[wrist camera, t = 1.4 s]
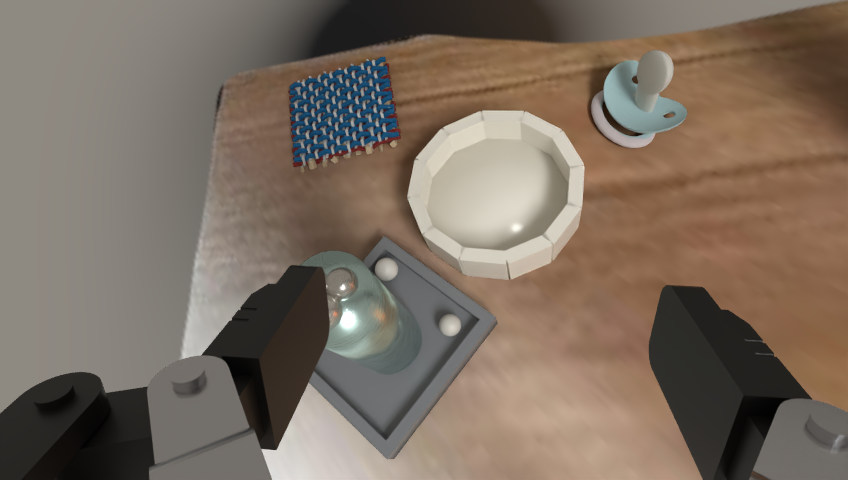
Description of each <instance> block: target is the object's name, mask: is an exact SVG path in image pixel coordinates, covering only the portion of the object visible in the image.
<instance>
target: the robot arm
mask: <svg viewBox="0 0 848 480" xmlns="http://www.w3.org/2000/svg"><path fill="white" fill-rule="evenodd" d="M329 329H330V318H329V309H328V299H327V290H326V281H325V273H324V270H323V268H322V267H316V266H297V265H291V266H290V267H289V268H288V269H287V270H286V272H285V273H284V274H283V276H282V277H281V278H280V280H279V281H278V282H277V284H267V285H266V286H264V287H262V288H261V289H259V290H258V291H256V292H254V293H253V294H251V295H250V297H249V298H248V299H247V300H246V302H245V303H244V304H243V305H242V306H241V310H238V311H237V312H236V314H235V315H234V316H233V317H232V321H229V322H228V323H227V325H226V326H225V327H224V328H223V330H222V331H221V332H220V333H219V334H218V336H217V337H216V338H215V339H214V341H213V342H212V343H211V344H210V345H209V347H208V348H207V349H206V350H205V352H204V353H203V354H202V355H201V356H194V357H189V358H185V359H182V360H180V361H177V362H175V363H173V364H171V365H169V366H167V367H165V368H164V369H163V370H161V371H160V372H159V373H158V374H157V375H156V376H155V377H154V378H153V379H152V380H151V382H150V384H149V386H148V387H143V388H136V389H130V390H123V391H117V392H110V393H105V390H104V387H103V384H102V382H101V380H100V378H99V377H98V376H96V375H94V374H91V373H85V372H77V373H69V374H64V375H60V376H57V377H54V378H51V379H49V380H46V381H44V382H42V383H39V384H38V385H36V386H34V387H32V388H30V389H29V390H27V391H26V392H25V393H23V394H22V395H21V396H19V397H18V398H17V399H16V400H15V401H14V402H13V403H12V404H11V405H9V406H8V407H7V408H6V409H5V410H4V411H3V412H2V413H1V414H0V480H272V478H271V475H270V473H269V470H268V467H267V464H266V461H265V459H264V456H263V453H262V450H261V449H270V450H277V448H278V446H279V443H280V441H281V439H282V437H283V435H284V433H285V431H286V429H287V427H288V424H289V422H290V420H291V418H292V416H293V414H294V412H295V410H296V408H297V405H298V403H299V401H300V399H301V397H302V395H303V393H304V391H305V389H306V386H307V384H308V382H309V380H310V378H311V376H312V374H313V372H314V370H315V367H316V365H317V363H318V361H319V359H320V357H321V355H322V353H323V351H324V348H325V346H326V344H327V341H328V337H329ZM649 360H650V364H651V368H652V370H653V372H654V374H655V377H656V379H657V381H658V383H659V385H660V387H661V390H662V392H663V394H664V396H665V398H666V400H667V403H668V405H669V407H670V409H671V411H672V413H673V416H674V418H675V420H676V422H677V424H678V426H679V429H680V431H681V433H682V435H683V437H684V439H685V442H686V444H687V446H688V448H689V450H690V452H691V455H692V457H693V459H694V461H695V463H696V465H697V468H698V470H699V472H700V474H701V476H702V478H703V480H848V412H846V411H844V410H842V409H839V408H837V407H835V406H832V405H829V404H827V403H823V402H820V401H816V400H812V398H811V397H810V396H809V395H808V394H807V393H806V391H805V390H804V389H803V388H802V387H801V385H800V384H799V383H798V382H797V381H796V379H795V378H794V377H793V376H792V375H791V373H790V372H789V371H788V370H787V369H786V367H785V366H784V365H783V364H782V363H781V361H780V360H779V359H778V358H777V357H774V353H773V352H772V351H771V349H770V348H769V347H768V346H767V345H766V343H763V340H762V339H761V337H760V336H759V335H758V334H757V333H756V331H755V330H754V329H753V328H752V327H751V325H750V324H748V323H747V322H745V321H744V320H742V319H741V318H739V317H738V316H736V315H735V314H733V313H732V312H730V311H729V310H721V309H720V307H719V306H718V305H717V304H716V302H715V301H714V300H713V299H712V297H711V296H710V295H709V293H708V292H707V291H706V290H705V289H704V288H703V287H695V286H675V285H666V286H665V287H664V288H663V290H662V292H661V295H660V299H659V303H658V307H657V311H656V316H655V320H654V324H653V328H652V332H651V337H650V341H649Z"/></svg>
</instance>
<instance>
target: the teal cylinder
mask: <svg viewBox="0 0 848 480" xmlns="http://www.w3.org/2000/svg"><path fill="white" fill-rule="evenodd" d="M300 266H316V267H322V268H323V270H324V273H325V281H326V290H327V299H328V309H329V318H330V329H329V337H328V341H327V344H326V346H325V348H326V349H328V350H330V351H332V352H335V353H337V354H339V355H341V356H343V357H345V358H347V359H349V360H351V361H354V362H356V363H358V364H360V365H362V366H364V367H366V368H368V369H370V370H373V371H375V372H377V373H381V374H394V373H397V372H400V371H402V370H404V369H406V368H407V367H408V366H409V365H411V364H412V362H413V361H414V360H415V359H416V357H417V355H418V353H419V351H420V348H421V342H422V335H421V330H420V327H419V324H418V322H417V321H416V319H415V318H414V317H413V316H412V315H411V314H410V313H409V312H408V310H407V309H406V308H405V307H404V306H403V305H402V304H401V303H400V302H399V301H398V300H397V299H396V298H395V297H394V296H393V294H392V293H391V292H390V291H389V290H388V289H387V288H386V287H385V286H384V285H383V284H382V283H381V282H380V281H379V280H378V278H377V277H376V276H375V275H374V274H373V273H372V272H371V271H370V270H369V269H368V268H367V267H366V266H365V265H364V264H363V262H362V261H360V260H359V259H358V258H357V257H355V256H354V255H352V254H349V253H347V252H343V251H326V252H322V253H319V254H316V255H314V256H312V257H310V258H309V259H307V260H306V261H304V262H303V263H302V264H301V265H300Z"/></svg>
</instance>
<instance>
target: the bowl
mask: <svg viewBox="0 0 848 480" xmlns="http://www.w3.org/2000/svg"><path fill="white" fill-rule="evenodd" d="M583 183H584V163H583V162H582V160H581V158H580V157H579V155H578V154H577V152H576V150H575V149H574V147H573V146H572V144H571V142H570V141H569V139H568V138H567V136H566V134H565V133H564V131H562V129H560V128H558V127H556V126H554V125H552V124H550V123H548V122H546V121H544V120H542V119H540V118H538V117H536V116H534V115H532V114H530V113H528V112H525V113H524V111H482V113H481V111H479V112H477V113H474V114H472V115H470V116H468V117H465V118H463V119H461V120H458V121H456V122H454V123H452V124H449V125H447V126H445V127H443V129H440V130H439V132H438V133H437V134H436V135H435V136H434V137H433V139H432V140H431V141H430V142H429V143H428V144H427V145H426V147H425V148H424V149H423V150H422V151H421V152H420V154H419V155H418V156H417V157H416V160H415V161H414V166H413V171H412V175H411V180H410V185H409V190H408V195H407V197H408V198H407V199H408V201H409V204H410V206H411V209H412V211H413V213H414V216H415V218H416V221H417V223H418V226H419V228H420V231H421V233H422V235H423V237H424V239H425V241H426V243H427V245H428V246H429V248H430V250H431V251H432V253H434V254H435V255H437V256H438V257H439V258H441V259H442V260H444V261H445V262H446V263H448V264H449V265H451V266H452V267H453V268H455V269H456V270H458V271H459V272H461V273H462V274H463V275H464V274H465V275H466V276H474V277H485V278H495V279H505V280H509V277H510V279H513V278H516V277H518V276H520V275H523V274H525V273H527V272H530V271H532V270H535V269H537V268H539V267H542V266H544V265H547V264H549V263H551V260H552V261H553V260H554V259H555V258H556V256H557V255H558V254H559V252H560V251H561V250H562V248H563V247H564V246H565V245H566V243H567V242H568V241H569V239H570V238H571V237H572V235H573V234H574V233H575V231H576V230H577V229H578V226H579V220H580V215H581V210H582V200H583Z"/></svg>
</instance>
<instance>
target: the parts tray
mask: <svg viewBox="0 0 848 480" xmlns="http://www.w3.org/2000/svg"><path fill="white" fill-rule="evenodd" d="M362 262H363V264H364V265H365V266H366V267H367V268H368V269H369V270H370V271H371V272H372V273H373V274H374V275H375V276H376V277H377V278H378V280H379V281H380V282H381V283H382V284H383V285H384V286H385V287H386V288H387V289H388V290H389V291H390V292H391V293H392V294H393V296H394V297H395V298H396V299H397V300H398V301H399V302H400V303H401V304H402V305H403V306H404V307H405V308H406V309H407V310H408V312H409V313H410V314H411V315H412V316H413V317H414V318H415V319H416V321H417V322H418V324H419V327H420V330H421V335H422V342H421V348H420V351H419V353H418V355H417V357H416V359H415V360H414V361H413V362H412V364H411V365H409V366H408V367H407V368H406V369H404V370H402V371H400V372H397V373H394V374H381V373H377V372H375V371H373V370H370V369H368V368H366V367H364V366H362V365H360V364H358V363H356V362H354V361H351V360H349V359H347V358H345V357H343V356H341V355H339V354H337V353H335V352H332V351H330V350H328V349H326V348H324V351H323V353H322V355H321V357H320V359H319V361H318V363H317V365H316V367H315V370H314V372H313V374H312V376H311V378H310V380H309V383H310V384H311V385H312V386H313V387H314V388H315V389H316V390H317V391H318V392H319V393H320V394H321V395H322V396H323V397H324V398H325V399H326V400H327V401H328V402H329V403H330V404H331V405H332V406H333V407H334V408H335V409H336V410H337V411H338V412H340V413H341V414H342V415H343V416H344V417H345V418H346V419H347V420H348V421H349V422H350V423H351V424H352V425H353V426H354V427H355V428H356V429H357V430H358V431H359V432H360V433H361V434H362V435H363V436H364V437H365V438H366V439H367V440H368V441H369V442H370V443H371V444H372V445H373V446H374V447H375V448H376V449H377V450H378V451H379V452H380V453H381V454H382V455H383V456H384V457H385V458H386V459H394V458H395V457H396V456H397V454H398V453H399V452H400V450H401V449H402V448H403V446H404V445H405V444H406V442H407V441H408V440H409V438H410V437H411V436H412V435H413V433H414V432H415V431H416V429H417V428H418V427H419V425H420V424H421V423H422V421H423V420H424V419H425V417H426V416H427V415H428V414H429V412H430V411H431V410H432V408H433V407H434V406H435V404H436V403H437V402H438V400H439V399H440V398H441V396H442V395H443V394H444V393H445V391H446V390H447V389H448V387H449V386H450V385H451V383H452V382H453V381H454V379H455V378H456V377H457V375H458V374H459V373H460V372H461V370H462V369H463V368H464V366H465V365H466V364H467V362H468V361H469V360H470V358H471V357H472V356H473V354H474V353H475V352H476V351H477V349H478V348H479V347H480V345H481V344H482V343H483V341H484V340H485V339H486V337H487V336H488V335H489V333H490V332H491V331H492V330H493V328H494V327H495V326H496V324H497V320H496V317H495V316H493V315H492V314H491V313H489V312H488V311H486V310H485V309H484V308H482V307H481V306H480V305H478V304H477V303H475V302H474V301H473V300H471V299H470V298H469V297H467V296H466V295H464V294H463V293H462V292H460V291H459V290H458V289H456V288H455V287H454V286H452V285H451V284H449V283H448V282H447V281H445V280H444V279H443V278H441V277H440V276H438V275H437V274H436V273H434V272H433V271H432V270H430V269H429V268H427V267H426V266H425V265H423V264H422V263H421V262H419V261H418V260H417V259H415V258H414V257H412V256H411V255H410V254H408V253H407V252H406V251H404V250H403V249H401V248H400V247H399V246H397V245H396V244H395V243H393V242H392V241H390V240H389V239H388V238H386V237H385V236H384V237H383V238H382V239H381V240H380V241H379V243H378V244H377V245H376V246H375V247H374V248H373V250H372V251H371V252H370V253H369V254H368V256H367V257H366V258H365V259H364V260H363V261H362Z"/></svg>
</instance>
